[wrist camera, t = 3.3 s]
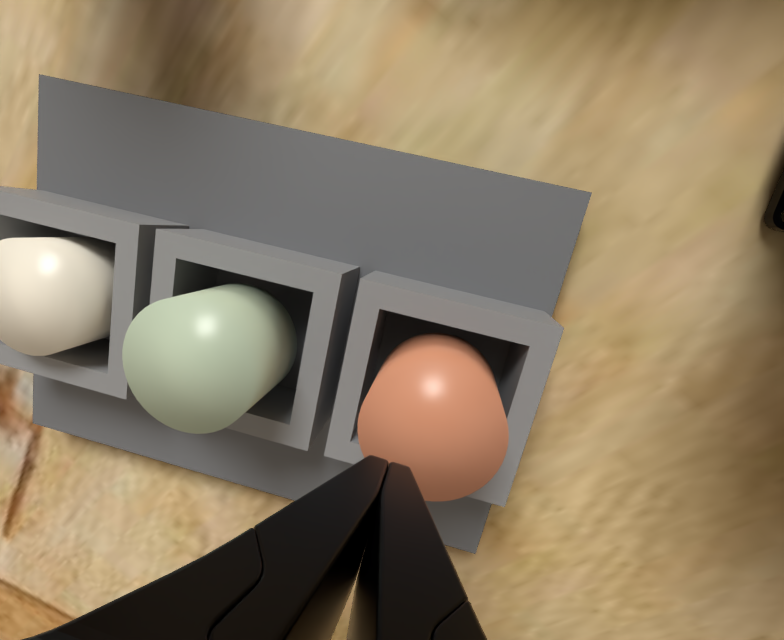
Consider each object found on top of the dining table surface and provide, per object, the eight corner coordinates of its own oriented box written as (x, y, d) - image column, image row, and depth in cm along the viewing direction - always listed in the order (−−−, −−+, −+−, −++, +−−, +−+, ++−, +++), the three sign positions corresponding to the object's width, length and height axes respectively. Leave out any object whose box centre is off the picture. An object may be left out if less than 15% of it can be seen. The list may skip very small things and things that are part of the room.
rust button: (510, 349, 14) (528, 384, 10) (478, 457, 14) (485, 518, 11) (391, 319, 14) (374, 345, 11) (366, 426, 15) (344, 478, 12)
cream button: (152, 249, 16) (82, 253, 13) (144, 344, 17) (77, 368, 14) (60, 226, 17) (-28, 225, 14) (58, 320, 18) (-26, 339, 15)
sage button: (305, 298, 14) (264, 317, 11) (287, 404, 15) (244, 449, 12) (196, 271, 14) (126, 281, 11) (184, 376, 15) (117, 413, 12)
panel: (578, 196, 16) (623, 184, 12) (473, 529, 19) (479, 610, 15) (73, 87, 17) (-43, 43, 13) (61, 409, 21) (-33, 452, 17)
